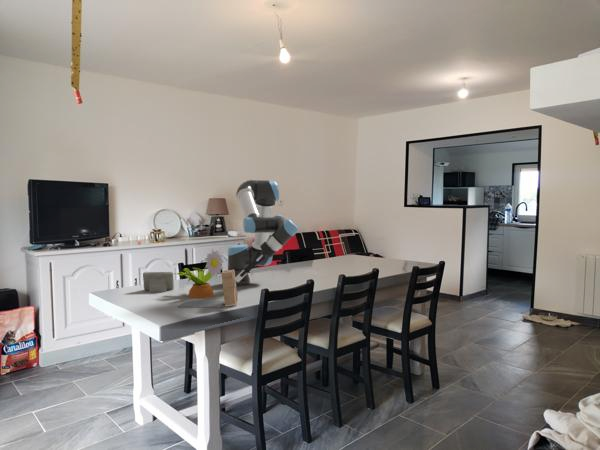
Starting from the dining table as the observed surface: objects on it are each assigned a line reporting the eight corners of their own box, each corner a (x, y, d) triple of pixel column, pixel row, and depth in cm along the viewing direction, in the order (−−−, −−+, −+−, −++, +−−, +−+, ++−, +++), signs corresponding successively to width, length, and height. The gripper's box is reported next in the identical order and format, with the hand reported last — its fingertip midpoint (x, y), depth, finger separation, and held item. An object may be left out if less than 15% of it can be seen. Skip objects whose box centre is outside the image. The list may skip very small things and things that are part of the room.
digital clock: (175, 289, 241) (175, 270, 240) (170, 292, 232) (169, 273, 231) (146, 288, 241) (146, 270, 241) (140, 292, 232) (140, 272, 232)
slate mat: (186, 300, 214) (186, 299, 214) (225, 301, 214) (225, 300, 214) (178, 307, 201) (178, 306, 201) (220, 307, 201) (220, 307, 201)
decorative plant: (200, 302, 210) (200, 252, 209) (165, 296, 222) (165, 248, 221) (234, 292, 234) (235, 247, 232) (201, 287, 246) (201, 244, 244)
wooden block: (227, 302, 211) (224, 270, 210) (238, 301, 211) (234, 269, 210) (225, 306, 204) (221, 273, 203) (235, 305, 204) (231, 271, 203)
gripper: (275, 253, 199) (239, 288, 200) (277, 250, 212) (243, 283, 213) (264, 242, 198) (228, 277, 200) (266, 239, 211) (233, 272, 213)
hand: (236, 280), depth 206 cm, fingers closed
